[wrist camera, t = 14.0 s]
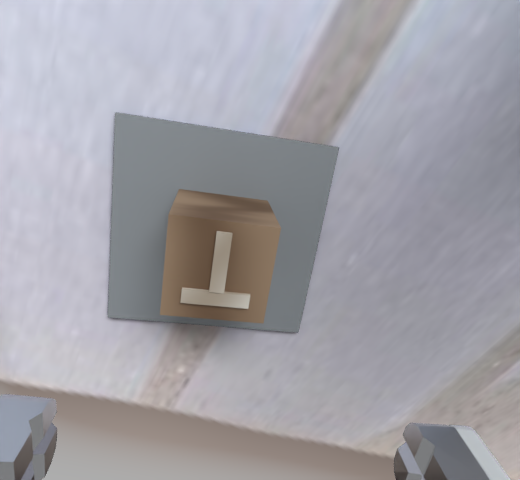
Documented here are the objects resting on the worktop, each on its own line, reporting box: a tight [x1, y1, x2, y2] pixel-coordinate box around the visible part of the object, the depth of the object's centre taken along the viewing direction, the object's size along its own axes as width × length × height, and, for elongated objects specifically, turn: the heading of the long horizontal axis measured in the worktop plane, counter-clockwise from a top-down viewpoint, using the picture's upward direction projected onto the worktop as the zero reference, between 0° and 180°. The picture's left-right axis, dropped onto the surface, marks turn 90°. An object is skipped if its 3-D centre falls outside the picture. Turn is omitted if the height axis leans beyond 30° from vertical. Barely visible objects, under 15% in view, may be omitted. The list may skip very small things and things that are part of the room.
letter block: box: [160, 189, 281, 323], centre depth 20 cm, size 5×5×5 cm
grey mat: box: [108, 113, 339, 333], centre depth 23 cm, size 12×12×1 cm
